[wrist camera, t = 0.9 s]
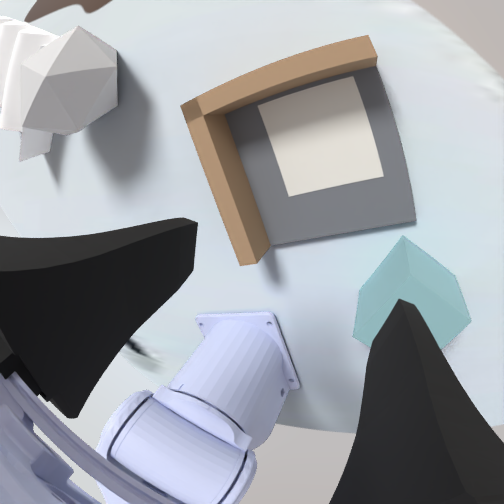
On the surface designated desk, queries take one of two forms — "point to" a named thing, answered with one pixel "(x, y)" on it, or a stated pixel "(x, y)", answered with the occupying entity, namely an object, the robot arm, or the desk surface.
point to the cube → (411, 294)
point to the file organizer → (8, 81)
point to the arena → (302, 149)
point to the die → (68, 83)
